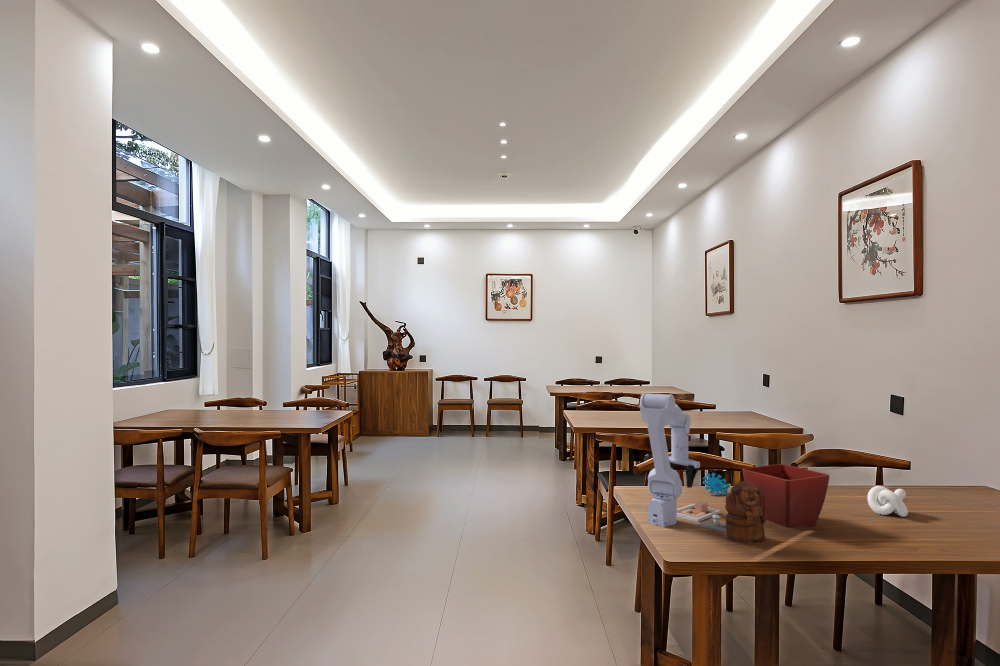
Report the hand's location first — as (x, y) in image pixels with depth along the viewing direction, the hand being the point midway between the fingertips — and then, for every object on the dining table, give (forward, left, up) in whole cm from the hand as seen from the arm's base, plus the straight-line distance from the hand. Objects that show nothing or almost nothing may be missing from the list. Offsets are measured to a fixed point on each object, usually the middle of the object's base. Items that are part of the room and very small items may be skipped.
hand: (679, 485), depth 195 cm
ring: (0, -7, -9) cm, 11 cm away
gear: (+33, +4, -10) cm, 34 cm away
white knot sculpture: (+54, -49, -10) cm, 73 cm away
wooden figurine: (-12, -30, -10) cm, 34 cm away
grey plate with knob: (-7, -18, -9) cm, 21 cm away
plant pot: (+17, -28, -10) cm, 35 cm away
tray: (-1, -6, -9) cm, 12 cm away
